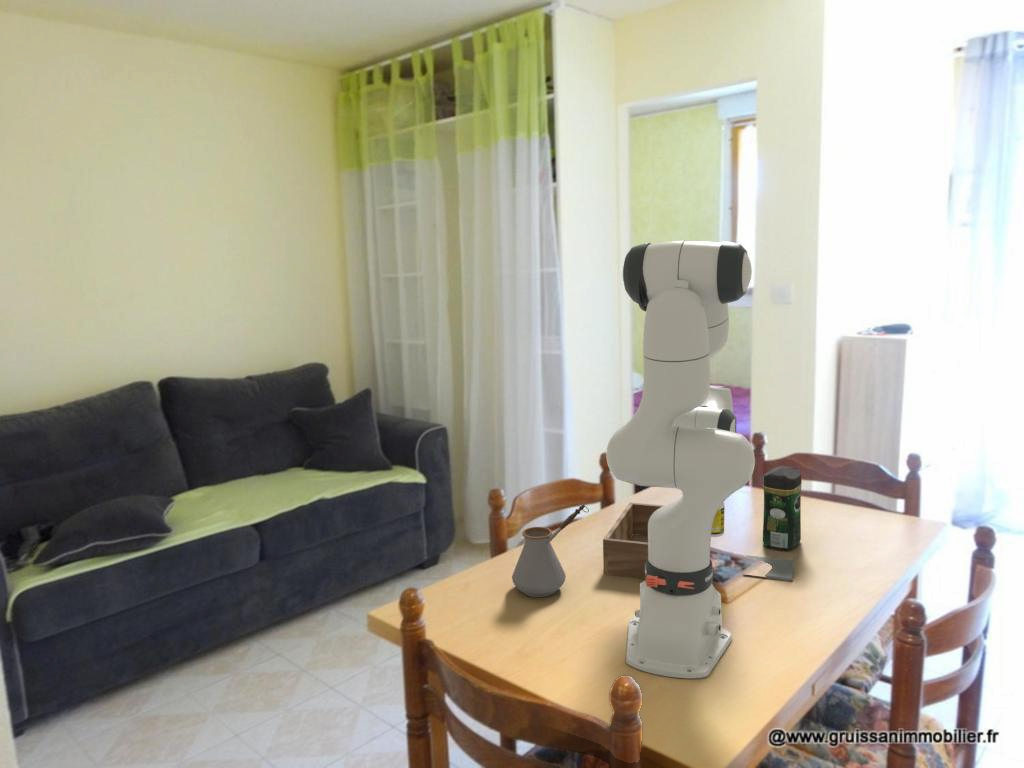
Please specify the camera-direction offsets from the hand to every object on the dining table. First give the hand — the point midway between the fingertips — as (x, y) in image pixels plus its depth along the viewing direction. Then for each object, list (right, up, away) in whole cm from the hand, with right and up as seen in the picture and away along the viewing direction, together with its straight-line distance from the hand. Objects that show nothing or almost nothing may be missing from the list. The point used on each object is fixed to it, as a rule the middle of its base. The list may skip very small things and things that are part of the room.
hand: (712, 516), depth 164 cm
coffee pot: (-36, -14, -5) cm, 38 cm away
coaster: (+12, -11, -3) cm, 16 cm away
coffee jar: (+20, -9, +11) cm, 24 cm away
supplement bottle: (0, -4, +1) cm, 4 cm away
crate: (-13, -11, +7) cm, 18 cm away
